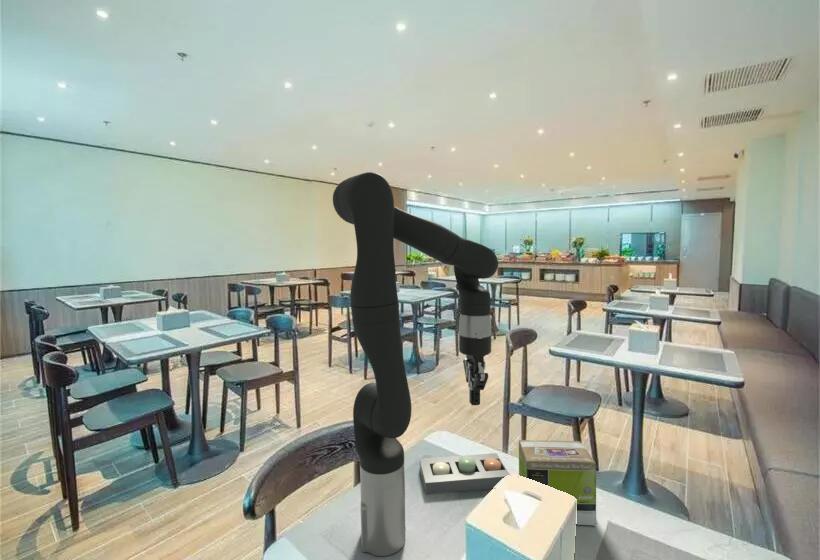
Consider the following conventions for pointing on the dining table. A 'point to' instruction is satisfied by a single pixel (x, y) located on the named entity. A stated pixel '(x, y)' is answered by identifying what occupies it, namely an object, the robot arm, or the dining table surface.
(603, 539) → the dining table surface
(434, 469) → the cream button
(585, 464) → the tea box
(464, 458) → the sage button
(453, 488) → the button panel
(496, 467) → the terracotta button
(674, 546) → the dining table surface
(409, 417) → the robot arm
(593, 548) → the dining table surface
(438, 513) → the dining table surface
